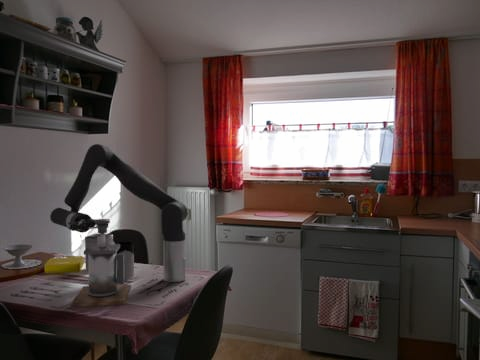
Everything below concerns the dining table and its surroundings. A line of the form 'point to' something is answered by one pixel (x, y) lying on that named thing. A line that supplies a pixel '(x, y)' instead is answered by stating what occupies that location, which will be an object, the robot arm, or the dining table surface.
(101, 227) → the plunger
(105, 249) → the press
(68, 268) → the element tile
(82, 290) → the board
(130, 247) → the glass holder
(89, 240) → the coffee box
